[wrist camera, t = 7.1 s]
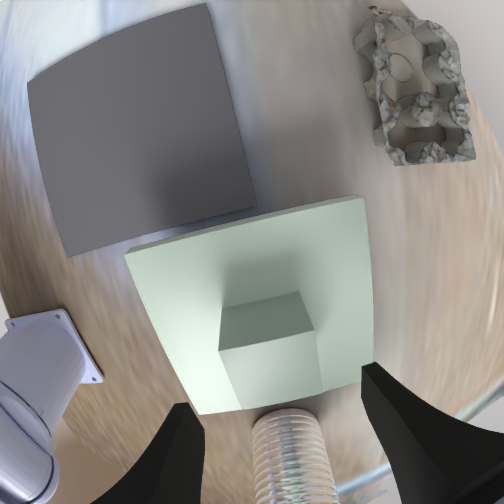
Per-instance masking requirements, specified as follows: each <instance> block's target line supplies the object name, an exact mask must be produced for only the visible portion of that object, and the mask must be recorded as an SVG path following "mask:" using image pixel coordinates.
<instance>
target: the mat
mask: <svg viewBox="0 0 504 504" xmlns="http://www.w3.org/2000/svg"><path fill="white" fill-rule="evenodd" d="M27 89H28V99H29V107H30V115H31V122H32V128H33V134H34V140H35V145H36V150H37V155H38V160H39V164H40V169H41V173H42V177H43V181H44V185H45V189H46V192H47V196H48V199H49V203H50V206H51V210H52V213H53V216H54V219H55V222H56V226H57V229H58V232H59V234H60V237H61V240H62V243H63V246H64V248H65V251H66V254H67V256H68V258H69V257H72V256H75V255H78V254H82V253H85V252H88V251H91V250H95V249H98V248H101V247H104V246H108V245H111V244H115V243H118V242H121V241H125V240H128V239H132V238H135V237H139V236H142V235H146V234H149V233H153V232H157V231H160V230H164V229H168V228H171V227H175V226H179V225H183V224H186V223H190V222H194V221H198V220H202V219H206V218H210V217H214V216H218V215H222V214H226V213H230V212H234V211H238V210H242V209H246V208H250V207H255V206H257V204H256V199H255V195H254V191H253V187H252V183H251V178H250V174H249V170H248V166H247V162H246V158H245V154H244V149H243V145H242V141H241V137H240V133H239V129H238V125H237V121H236V117H235V113H234V109H233V105H232V101H231V97H230V93H229V89H228V85H227V81H226V77H225V73H224V69H223V66H222V62H221V58H220V54H219V50H218V46H217V42H216V39H215V35H214V31H213V27H212V23H211V20H210V16H209V12H208V9H207V5H206V3H204V4H200V5H196V6H192V7H189V8H185V9H181V10H178V11H175V12H171V13H168V14H165V15H162V16H159V17H156V18H153V19H150V20H147V21H145V22H142V23H139V24H137V25H134V26H132V27H129V28H127V29H124V30H122V31H120V32H117V33H115V34H113V35H110V36H108V37H106V38H104V39H102V40H100V41H98V42H96V43H93V44H91V45H89V46H88V47H86V48H84V49H82V50H80V51H78V52H76V53H74V54H72V55H71V56H69V57H67V58H65V59H64V60H62V61H60V62H59V63H57V64H55V65H54V66H52V67H50V68H49V69H47V70H46V71H44V72H42V73H41V74H39V75H38V76H36V77H35V78H33V79H32V80H30V81H29V82H28V83H27Z"/></svg>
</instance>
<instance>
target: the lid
mask: <svg viewBox="0 0 504 504" xmlns="http://www.w3.org/2000/svg"><path fill="white" fill-rule="evenodd" d="M124 256H125V259H126V262H127V264H128V267H129V270H130V272H131V275H132V277H133V280H134V282H135V285H136V287H137V290H138V292H139V295H140V297H141V299H142V302H143V304H144V306H145V309H146V311H147V313H148V316H149V318H150V320H151V322H152V325H153V327H154V329H155V331H156V333H157V335H158V337H159V340H160V342H161V344H162V346H163V348H164V350H165V352H166V354H167V356H168V358H169V360H170V362H171V364H172V366H173V368H174V370H175V372H176V374H177V376H178V378H179V379H180V381H181V383H182V385H183V387H184V389H185V391H186V392H187V394H188V396H189V398H190V400H191V401H192V403H193V405H194V407H195V408H196V410H197V412H198V413H199V415H202V414H211V413H219V412H226V411H233V410H240V409H242V410H246V409H252V408H258V407H264V406H269V405H274V404H279V403H284V402H288V401H293V400H297V399H302V398H306V397H310V396H314V395H318V394H322V393H323V392H325V391H329V390H332V389H336V388H339V387H343V386H346V385H350V384H353V383H356V382H359V381H361V366H364V365H367V364H370V363H373V350H374V322H373V289H372V271H371V257H370V246H369V235H368V226H367V217H366V209H365V201H364V197H362V196H360V195H358V194H354V195H349V196H344V197H339V198H335V199H330V200H325V201H321V202H316V203H311V204H307V205H302V206H298V207H293V208H289V209H284V210H280V211H276V212H271V213H267V214H263V215H258V216H254V217H250V218H246V219H242V220H238V221H233V222H229V223H225V224H221V225H217V226H213V227H209V228H205V229H201V230H197V231H193V232H189V233H186V234H182V235H178V236H174V237H170V238H166V239H163V240H159V241H155V242H151V243H148V244H144V245H140V246H137V247H133V248H130V249H129V250H128V251H127V252H126V253H125V254H124Z"/></svg>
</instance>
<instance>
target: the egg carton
mask: <svg viewBox="0 0 504 504" xmlns="http://www.w3.org/2000/svg"><path fill="white" fill-rule="evenodd" d="M368 8H369V9H371V10H372V13H371V16H372V17H373V18H372V19H369V21H367V22H366V23H365V24H364V25H363V26H362V31H361V32H360V33H359V34H358V35H356V37H355V38H354V39H353V46H354V49H355V51H356V52H357V53H360V54H362V55H364V56H366V57H367V58H368V59H369V61H370V62H371V64H372V66H373V75H372V77H371V79H370V80H369V81H367V82H364V83H363V85H364V87H365V90H366V92H367V96H368V98H371V99H373V100H375V101H376V102H378V105H379V109H380V114H381V118H382V124H381V125H380V126H379V127H378V128H376V129H374V130H373V139H374V142H375V145H377V146H381V147H383V148H384V149H385V150H386V152H387V153H388V154H389V156H390V158H391V160H392V161H393V160H394V165H395V166H400V165H415V164H425V163H426V164H432V163H447V162H453V163H454V162H463V161H470V160H475V159H476V154H475V150H474V146H473V141H472V135H471V133H470V131H469V126H468V124H469V121H470V118H469V117H468V115H467V110H468V108H469V106H470V103H469V100H468V97H467V95H466V90H465V82H464V78H463V75H462V73H461V65H460V55H459V49H458V46H457V43H456V41H455V40H454V39H453V37H452V36H451V35H450V34H449V33H448V32H447V31H446V30H445V29H444V28H443V27H442V26H440V25H439V24H436V23H433V22H431V21H429V20H420V19H416V18H415V17H411V16H408V17H399V16H393V15H391V13H392V12H391V11H388V10H382V9H377V7H375V6H370V7H368ZM411 32H412V34H413V35H414V37H415V38H416V39H417V40H418V41H419V42H421V43H422V44H425V45H427V47H428V50H429V53H430V56H428V57H426V58H425V59H424V60H423V63H422V69H423V72H424V74H425V76H426V77H427V78H428V80H430V81H431V82H432V83H434V84H436V85H437V86H438V89H439V94H440V98H437V99H435V97H434V96H433V95H431V94H430V93H427V92H421V93H418V94H413V95H409V96H405V97H402V98H400V99H399V100H398V102H397V103H396V102H395V101H393V100H392V99H390V98H389V96H388V95H387V94H385V93H382V92H380V84H381V82H382V81H383V80H385V79H386V78H387V77H388V76H389V75H391V77H392V78H394V79H395V80H396V81H398V82H407V81H408V80H410V78H411V77H412V66H411V64H410V63H409V61H408V60H407V59H406V58H405V57H404V56H402V55H400V54H391V52H389V51H388V49H387V47H386V46H385V39H387V40H391V41H393V40H397V39H399V38H401V37H403V36H405V35H407V34H409V33H411ZM398 119H399V121H400V122H401V123H402V124H403V125H404V126H407V127H409V128H417V127H432V126H434V125H435V123H436V122H437V123H438V124H439V125H440V126H442V127H444V128H445V129H446V135H447V140H446V141H444V142H442V143H441V144H440V146H439V145H438V144H437V143H436V142H411V143H409V144H408V145H407V146H406V147H405V149H404V152H403V151H402V150H401V149H400V148H398V147H395V146H392V145H390V144H389V140H388V131H390V130H391V129H392V127H394V126H395V125H396V124H397V120H398Z"/></svg>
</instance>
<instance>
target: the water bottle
mask: <svg viewBox="0 0 504 504" xmlns="http://www.w3.org/2000/svg"><path fill="white" fill-rule="evenodd" d="M252 450H253V466H254V482H255V485H254V486H255V498H256V504H340V503H339V497H338V495H337V489H336V487H335V481H334V479H333V474H332V471H331V466H330V463H329V458H328V455H327V451H326V448H325V443H324V440H323V436H322V433H321V428H320V426H319V423H318V421H317V419H316V417H315V416H314V415H313V414H312V413H310V412H308V411H306V410H302V409H296V408H287V409H280V410H276V411H273V412H270V413H268V414H266V415H264V416H262V417H261V418H260V419H259V420H258V421H257V422H256V423H255V425H254V427H253V431H252Z"/></svg>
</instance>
